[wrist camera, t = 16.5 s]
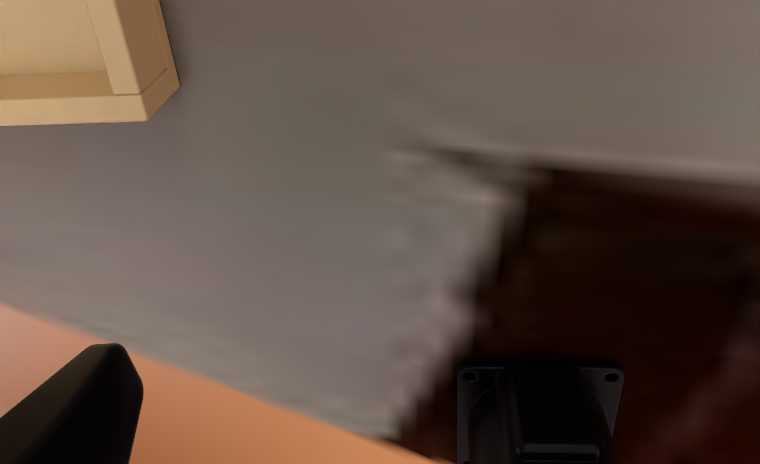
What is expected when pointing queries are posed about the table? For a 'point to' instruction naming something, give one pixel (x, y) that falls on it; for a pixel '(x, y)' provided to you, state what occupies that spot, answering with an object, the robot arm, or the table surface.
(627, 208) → the table surface
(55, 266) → the table surface
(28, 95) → the tray
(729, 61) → the table surface
